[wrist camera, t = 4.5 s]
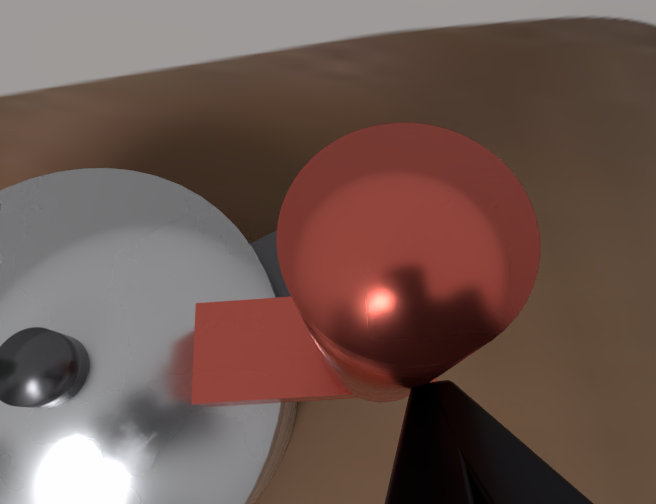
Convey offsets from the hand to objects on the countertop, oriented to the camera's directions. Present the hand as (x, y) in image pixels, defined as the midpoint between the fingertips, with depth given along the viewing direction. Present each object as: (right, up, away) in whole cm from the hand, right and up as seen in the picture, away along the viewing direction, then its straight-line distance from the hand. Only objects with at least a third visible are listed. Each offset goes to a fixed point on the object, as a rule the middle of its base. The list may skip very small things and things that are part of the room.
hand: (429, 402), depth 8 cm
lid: (-7, -1, +5) cm, 8 cm away
